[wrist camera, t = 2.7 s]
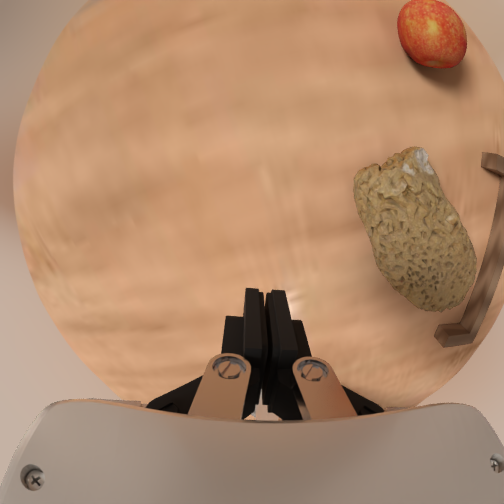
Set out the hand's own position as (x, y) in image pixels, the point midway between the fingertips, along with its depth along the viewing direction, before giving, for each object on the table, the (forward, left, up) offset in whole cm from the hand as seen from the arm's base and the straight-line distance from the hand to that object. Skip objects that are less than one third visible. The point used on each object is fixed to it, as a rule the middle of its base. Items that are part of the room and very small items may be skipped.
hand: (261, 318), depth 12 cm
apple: (+24, -16, -17) cm, 33 cm away
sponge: (+1, -18, -17) cm, 25 cm away
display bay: (0, -32, -17) cm, 36 cm away
